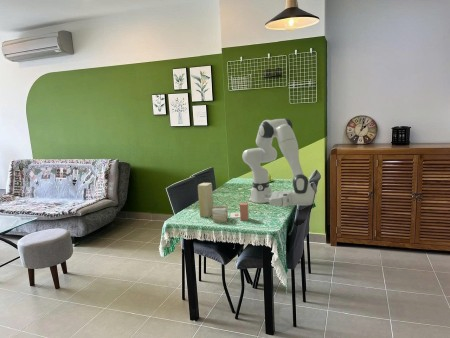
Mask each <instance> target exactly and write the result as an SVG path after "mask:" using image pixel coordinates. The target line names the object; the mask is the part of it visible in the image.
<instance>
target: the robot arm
mask: <svg viewBox="0 0 450 338" xmlns="http://www.w3.org/2000/svg"><path fill="white" fill-rule="evenodd" d="M274 138H276V139H277V141H276V142H277V144H278V147H279V149H280V151H281V153H282V155H283V157H284V158H285V159H286V161H287V163H288V165H289V167H290V170H291V174H292V177H293V179H292V182H291V184H292V186H293V190H289V189H287V190H285V189H284V190H283V191H281V190H275V191H272V189H271V188H270V181H269V172H268V169H266V168H265V167H262V165H261V164H264V163H270V162H274V161H275V160H276V159H277V156H278V151H277V150H276V148H275V147H273V145H272V144H273V141H274ZM255 144H256V146H257V147H254V148H247V149H246V150H244V151H243V152H242V156H241V157H242V158H241V159H242V160H243V162H244V163H245V164H246V165H248V167H249V168H250V171H251V172H252V188H251V190H250V197H249V198H248V201H249V202H252V203H256V204H265V203H268V204H269V205H270V206H275V207H281V206H282V207H283V208H286V207H288V206H311V205H313V204H314V202H315V198H316V192H315V191H314V188H313V187H312V185H311V182H310V180H309V179H308V177H307V175H305V174H304V172H303V169H302V166H301V163H300V156H299V155H300V154H299V153H300V151H299V145H298V144H299V143H298V140H297V138H296V135H295V132H294V130H293V122H292V121H291V119H289V118H286V117H285V118H284V117H283V118H275V119H265V120H263V121H262V122H261V123H260V124H259V126H258V130H257V135H256V138H255Z"/></svg>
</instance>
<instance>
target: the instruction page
mask: <svg viewBox="0 0 450 338" xmlns="http://www.w3.org/2000/svg"><path fill="white" fill-rule="evenodd" d="M229 216H230V217H229V218H231V219H236V218H240V211H238V212H230V215H229Z"/></svg>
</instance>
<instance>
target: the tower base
mask: <svg viewBox="0 0 450 338" xmlns="http://www.w3.org/2000/svg"><path fill="white" fill-rule="evenodd" d="M212 214H213V215H212V222H213V223H227V221H228V218H229V214H228V205H213V209H212Z"/></svg>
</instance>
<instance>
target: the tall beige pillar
mask: <svg viewBox="0 0 450 338" xmlns="http://www.w3.org/2000/svg"><path fill="white" fill-rule="evenodd" d="M213 195H214V194H213V183H212V182H202V183H199V184H198V185H197V196H198V207H199V217H201V218H211V216H213V214H212V209H213V208H214V197H213Z"/></svg>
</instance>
